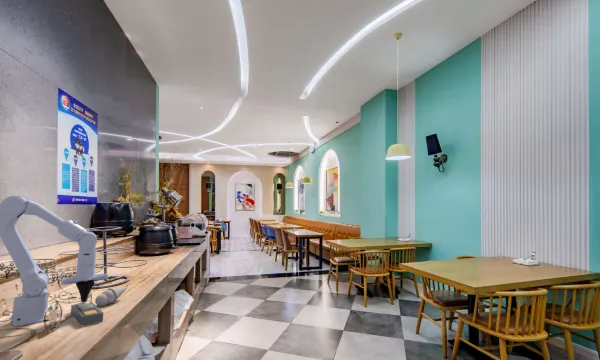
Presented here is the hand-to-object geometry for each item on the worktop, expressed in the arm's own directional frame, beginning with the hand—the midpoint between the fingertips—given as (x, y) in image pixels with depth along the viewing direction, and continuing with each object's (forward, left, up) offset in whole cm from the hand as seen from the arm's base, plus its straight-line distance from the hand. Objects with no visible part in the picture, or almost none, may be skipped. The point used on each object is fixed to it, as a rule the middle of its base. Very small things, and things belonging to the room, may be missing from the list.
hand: (83, 301), depth 121 cm
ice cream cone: (+12, +8, -5) cm, 15 cm away
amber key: (0, -10, -3) cm, 10 cm away
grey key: (0, -5, -2) cm, 5 cm away
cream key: (0, 0, -2) cm, 2 cm away
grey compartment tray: (0, -5, -4) cm, 7 cm away
